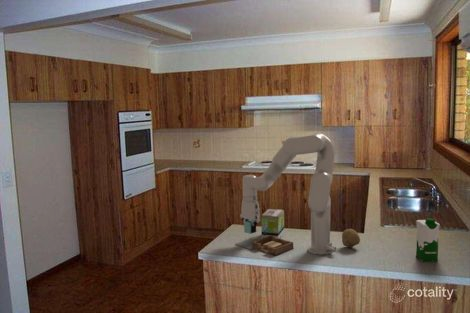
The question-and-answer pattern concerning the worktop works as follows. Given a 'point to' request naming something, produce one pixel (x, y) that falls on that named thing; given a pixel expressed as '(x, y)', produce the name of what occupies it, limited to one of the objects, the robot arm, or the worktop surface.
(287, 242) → the crate
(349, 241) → the natural sponge
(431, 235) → the milk carton
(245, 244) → the slate pad
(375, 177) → the worktop surface
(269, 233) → the tea box
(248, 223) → the teal block
